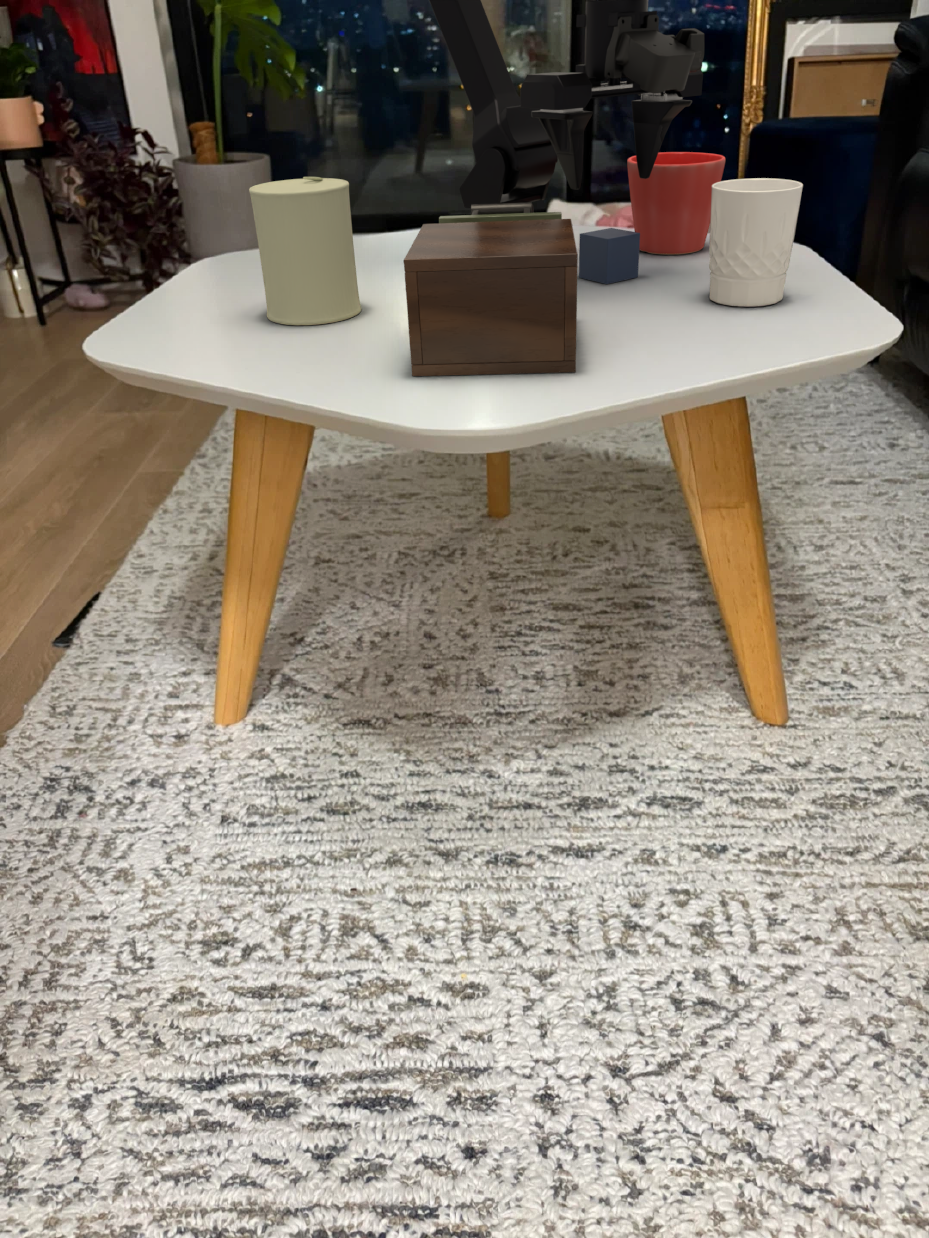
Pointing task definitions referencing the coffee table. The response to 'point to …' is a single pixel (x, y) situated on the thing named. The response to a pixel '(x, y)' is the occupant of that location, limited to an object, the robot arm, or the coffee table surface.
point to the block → (609, 255)
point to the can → (306, 250)
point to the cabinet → (492, 298)
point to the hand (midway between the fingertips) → (610, 183)
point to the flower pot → (674, 201)
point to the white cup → (751, 239)
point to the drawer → (500, 213)
